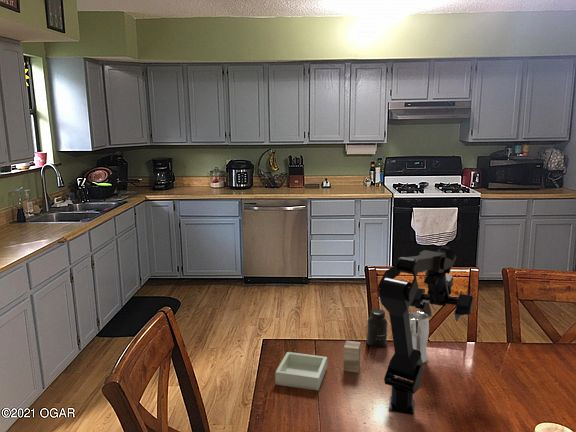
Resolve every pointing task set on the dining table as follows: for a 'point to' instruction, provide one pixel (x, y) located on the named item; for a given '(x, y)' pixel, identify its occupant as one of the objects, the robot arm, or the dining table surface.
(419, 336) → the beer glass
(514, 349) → the dining table surface
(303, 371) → the bin
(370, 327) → the supplement bottle
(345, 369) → the birch block
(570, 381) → the dining table surface
